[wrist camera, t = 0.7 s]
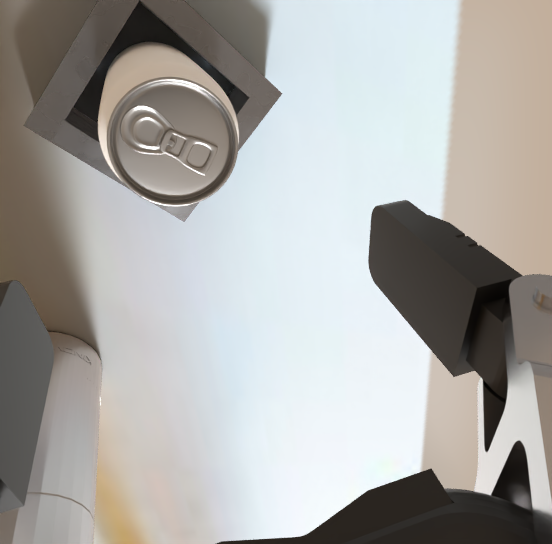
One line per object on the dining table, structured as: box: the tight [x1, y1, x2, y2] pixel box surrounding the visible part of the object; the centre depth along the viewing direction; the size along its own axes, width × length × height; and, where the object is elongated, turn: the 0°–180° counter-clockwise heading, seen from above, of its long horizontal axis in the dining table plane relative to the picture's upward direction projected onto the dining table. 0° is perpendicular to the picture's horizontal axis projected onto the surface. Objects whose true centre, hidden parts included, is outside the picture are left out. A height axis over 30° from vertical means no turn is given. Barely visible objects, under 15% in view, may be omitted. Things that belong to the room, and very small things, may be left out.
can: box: [98, 42, 239, 206], centre depth 23 cm, size 6×6×12 cm
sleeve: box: [24, 0, 282, 222], centre depth 26 cm, size 11×11×4 cm
